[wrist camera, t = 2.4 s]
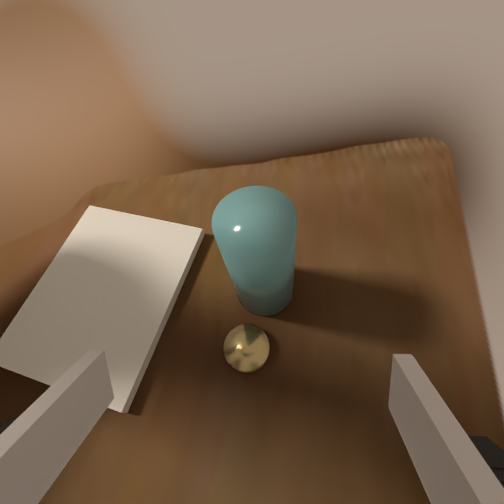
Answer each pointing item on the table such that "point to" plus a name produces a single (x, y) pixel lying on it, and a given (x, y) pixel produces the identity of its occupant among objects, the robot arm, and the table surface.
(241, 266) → the teal canister
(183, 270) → the pale board
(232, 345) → the beige mottled disc
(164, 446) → the table surface
